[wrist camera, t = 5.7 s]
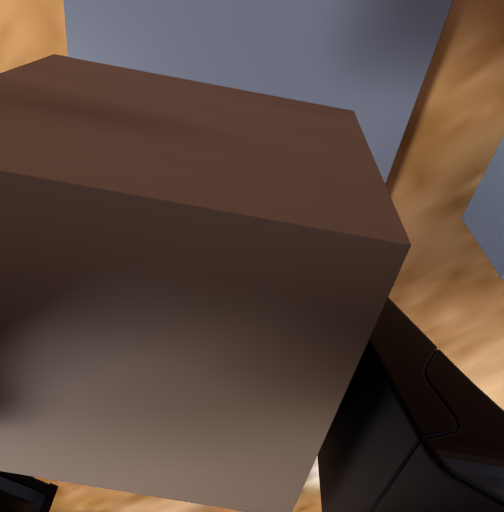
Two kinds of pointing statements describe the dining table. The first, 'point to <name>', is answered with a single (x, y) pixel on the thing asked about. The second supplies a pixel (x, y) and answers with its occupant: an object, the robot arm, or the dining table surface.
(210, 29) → the build plate
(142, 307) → the walnut brick
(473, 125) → the dining table surface
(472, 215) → the blue brick
